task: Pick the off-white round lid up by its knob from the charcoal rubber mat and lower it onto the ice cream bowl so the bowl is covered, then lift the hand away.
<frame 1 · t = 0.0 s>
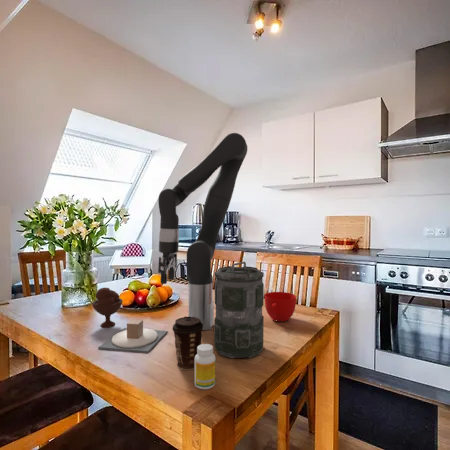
hand: (167, 281, 119), 17 cm above the table, tool pointing down, fingers open, 8 cm apart
supplement bottle: (204, 384, 77), on the table
lid: (135, 338, 104), point 1 cm above the table, touching mat
ice cream bowl: (107, 325, 118), on the table
ceramic cup: (278, 321, 124), on the table
mat: (135, 340, 104), on the table
coffee cup: (188, 365, 87), on the table
canister: (238, 349, 98), on the table
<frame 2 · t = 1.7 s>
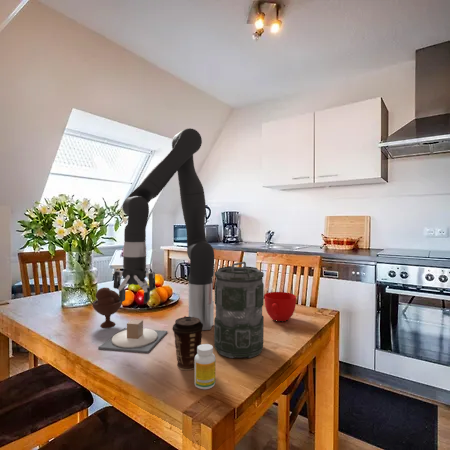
hand: (134, 301, 104), 13 cm above the table, tool pointing down, fingers open, 8 cm apart
nothing on the table moved.
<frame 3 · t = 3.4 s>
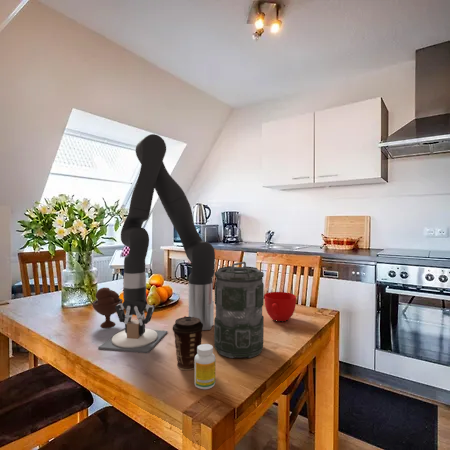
hand: (135, 334, 104), 2 cm above the table, tool pointing down, fingers closed on lid, 4 cm apart
lid: (135, 338, 104), point 1 cm above the table, touching gripper, mat
everything else where it was.
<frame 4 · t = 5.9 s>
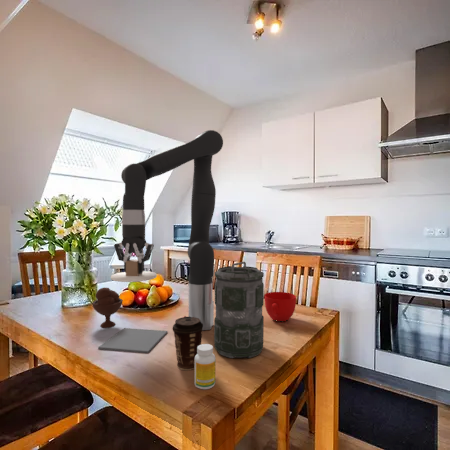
hand: (134, 272, 104), 23 cm above the table, tool pointing down, fingers closed on lid, 4 cm apart
lid: (134, 277, 104), point 22 cm above the table, touching gripper
everything else where it was.
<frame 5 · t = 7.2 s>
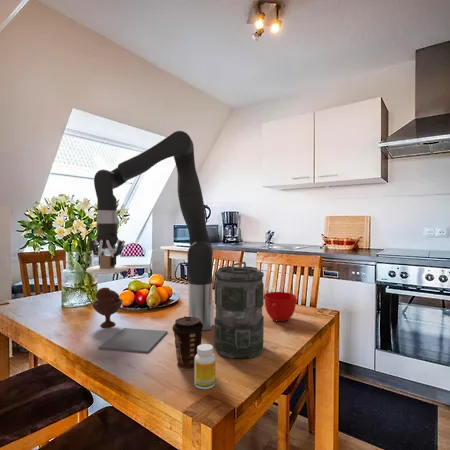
hand: (107, 266, 118), 23 cm above the table, tool pointing down, fingers closed on lid, 4 cm apart
lid: (107, 270, 118), point 22 cm above the table, touching gripper
everything else where it was.
when the fingers open (18 cm above the table, at t = 8.5 s): lid drops 1 cm, resting on ice cream bowl.
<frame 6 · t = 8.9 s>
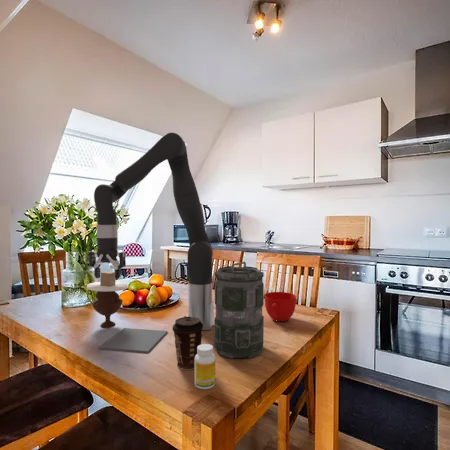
hand: (107, 278, 118), 19 cm above the table, tool pointing down, fingers open, 8 cm apart
lid: (107, 287, 118), point 15 cm above the table, touching ice cream bowl
ice cream bowl: (107, 325, 118), on the table, touching lid
everything else where it was.
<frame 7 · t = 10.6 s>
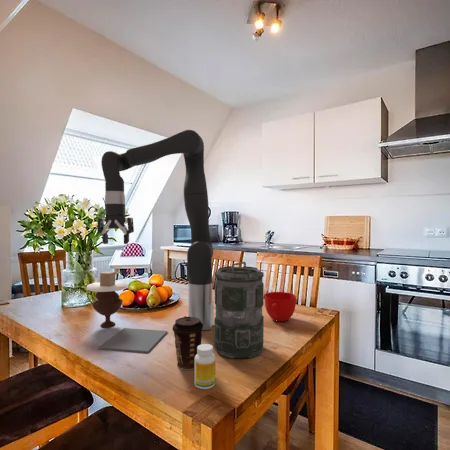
hand: (115, 243, 121), 32 cm above the table, tool pointing down, fingers open, 8 cm apart
nothing on the table moved.
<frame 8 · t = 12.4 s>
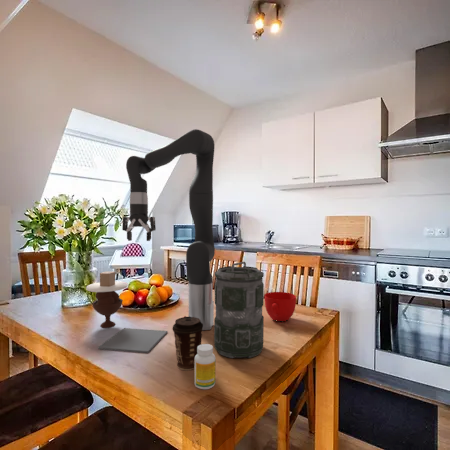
hand: (139, 240, 131), 32 cm above the table, tool pointing down, fingers open, 8 cm apart
nothing on the table moved.
at the end: lid 0.1 cm off-centre on the ice cream bowl, point 15.2 cm above the ice cream bowl's base; lid tilted 0°; the gripper is holding nothing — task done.
